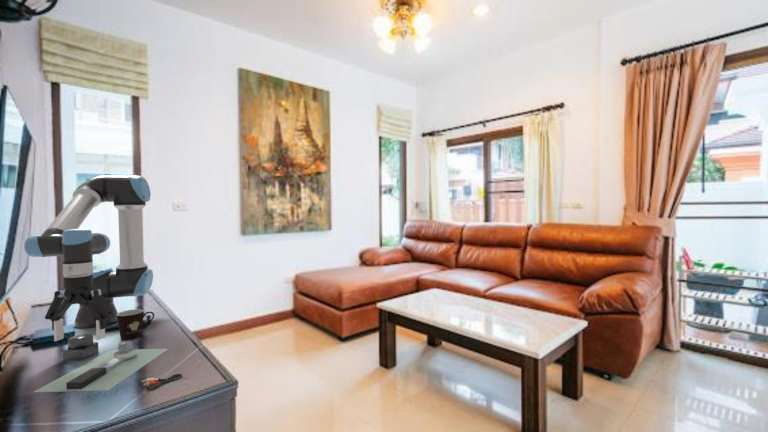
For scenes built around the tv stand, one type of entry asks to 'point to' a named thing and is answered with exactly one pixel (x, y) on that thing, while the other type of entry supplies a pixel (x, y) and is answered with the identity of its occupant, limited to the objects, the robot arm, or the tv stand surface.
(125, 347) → the ratchet
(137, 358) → the tool mat
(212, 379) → the tv stand surface
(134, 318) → the coffee mug
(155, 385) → the composite cable
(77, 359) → the dark grey door knob
